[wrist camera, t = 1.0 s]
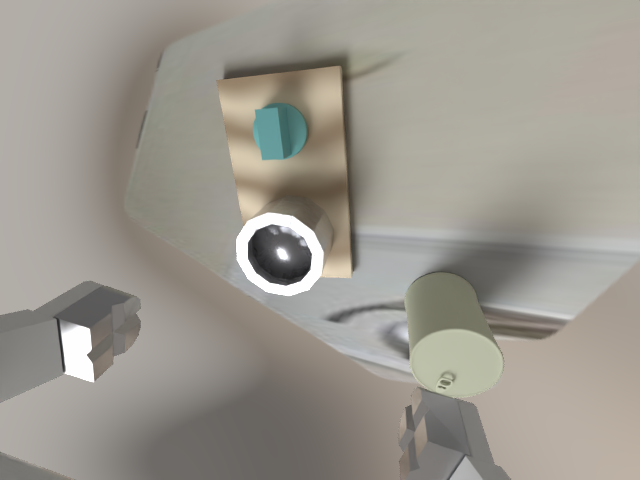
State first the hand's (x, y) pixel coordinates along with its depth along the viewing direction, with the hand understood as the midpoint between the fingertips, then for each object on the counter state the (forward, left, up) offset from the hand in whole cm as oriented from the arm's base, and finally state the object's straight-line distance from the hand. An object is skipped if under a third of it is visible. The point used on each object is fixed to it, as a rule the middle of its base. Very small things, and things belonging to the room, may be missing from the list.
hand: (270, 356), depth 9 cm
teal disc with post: (+2, -9, -31) cm, 33 cm away
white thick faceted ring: (+12, -1, -31) cm, 33 cm away
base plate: (+7, -5, -33) cm, 34 cm away
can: (+8, +20, -33) cm, 39 cm away
